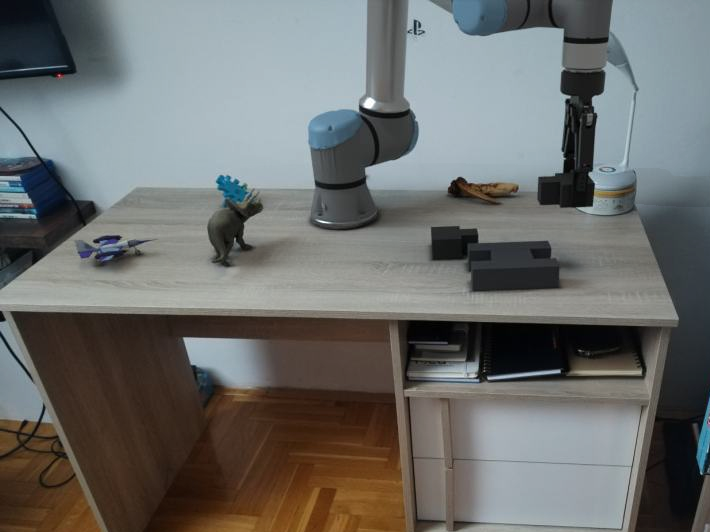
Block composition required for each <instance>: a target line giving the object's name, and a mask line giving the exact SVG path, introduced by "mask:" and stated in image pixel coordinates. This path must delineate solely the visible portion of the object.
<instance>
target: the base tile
mask: <svg viewBox="0 0 710 532" xmlns="http://www.w3.org/2000/svg"><path fill="white" fill-rule="evenodd" d="M467 267H468V271H469V272H470V284H471V289H472V291H473V292H478V291H480V292H481V291H482V292H483V291H503V290H504V291H505V290H529V289H555V288H556V289H557V288H559V282H560V269H561V266H560V263H559V262H558V259H557V258H556V257H552V246H551V243H550V241H549V240H527V241H497V242H478V243H468V255H467Z"/></svg>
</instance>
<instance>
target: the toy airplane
mask: <svg viewBox="0 0 710 532" xmlns="http://www.w3.org/2000/svg"><path fill="white" fill-rule="evenodd" d="M122 238H123V236H122V235H120V234H116V235H115V234H114V235H113V234H111V235H109V234H108V235H107V234H106V235H101V236H99V237H97V238H94V239H92V243H93V244H99V246H96V247H94V246H92V245H91V244H89V243H88V242H86V241H84V240H82V239H78V240H77V239H76V240H74V244H75V247H76V250H77V254H78V255H79V257H80V259H86V258H90V257H91V255H92V254H93V253H95V255H94V257H93V258H94V259H95V264H96V265H97V266H101V265H102V263H103V262H104V263H105V262H109V261H111V260H112V259H115V258H119V257H122V256H124V254H126V253H127V252H129V251H130V250H129V249H131V248H133V249H134V250H135V251H134V253H135V255H137V256H139V255H141V253H142V252H141V250H140V249H138V248H137V246H140V245H142V244H144V243H148V242H151V241H152V242H153V241H157V240H158V238H155V239H143V240H142V239H140V238H135V237H132V238H129V239H126V240H123V241H121V239H122Z"/></svg>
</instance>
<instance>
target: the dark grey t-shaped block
mask: <svg viewBox="0 0 710 532" xmlns="http://www.w3.org/2000/svg"><path fill="white" fill-rule="evenodd" d="M430 237H431V239H430V240H431V242H430V243H431V257H432V258H431V259H432V260H433V261H435V260H436V261H439V260H462V259H463V256H468V243H479V232H478V228H461V226H460V225H446V226H445V225H444V226H443V225H442V226H430Z"/></svg>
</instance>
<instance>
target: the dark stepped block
mask: <svg viewBox="0 0 710 532" xmlns="http://www.w3.org/2000/svg"><path fill="white" fill-rule="evenodd" d="M572 176H573V173H563V172H555V173H554V175H549V176H548V175H547V176H545V175H544V176H538V177H537V195H536V196H537V197H536V200H537V201H538V204H539V205H540V206H559V207H560V209H569V208H570V209H572V208H571V207H570V202H571V189H572ZM595 189H596V183H595V181H594V180H593V179H592V178H591V176H590V175H588V186H587V197H586V207H585V208H593V207H594V198H595Z"/></svg>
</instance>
